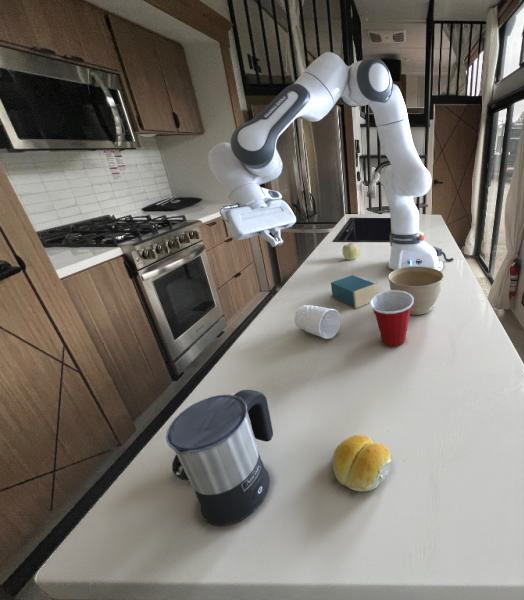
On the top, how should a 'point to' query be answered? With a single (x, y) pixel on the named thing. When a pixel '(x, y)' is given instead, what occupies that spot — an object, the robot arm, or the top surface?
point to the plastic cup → (392, 315)
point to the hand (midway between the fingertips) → (278, 244)
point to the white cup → (318, 320)
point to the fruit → (350, 251)
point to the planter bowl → (418, 286)
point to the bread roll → (361, 463)
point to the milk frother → (223, 454)
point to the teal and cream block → (354, 290)
